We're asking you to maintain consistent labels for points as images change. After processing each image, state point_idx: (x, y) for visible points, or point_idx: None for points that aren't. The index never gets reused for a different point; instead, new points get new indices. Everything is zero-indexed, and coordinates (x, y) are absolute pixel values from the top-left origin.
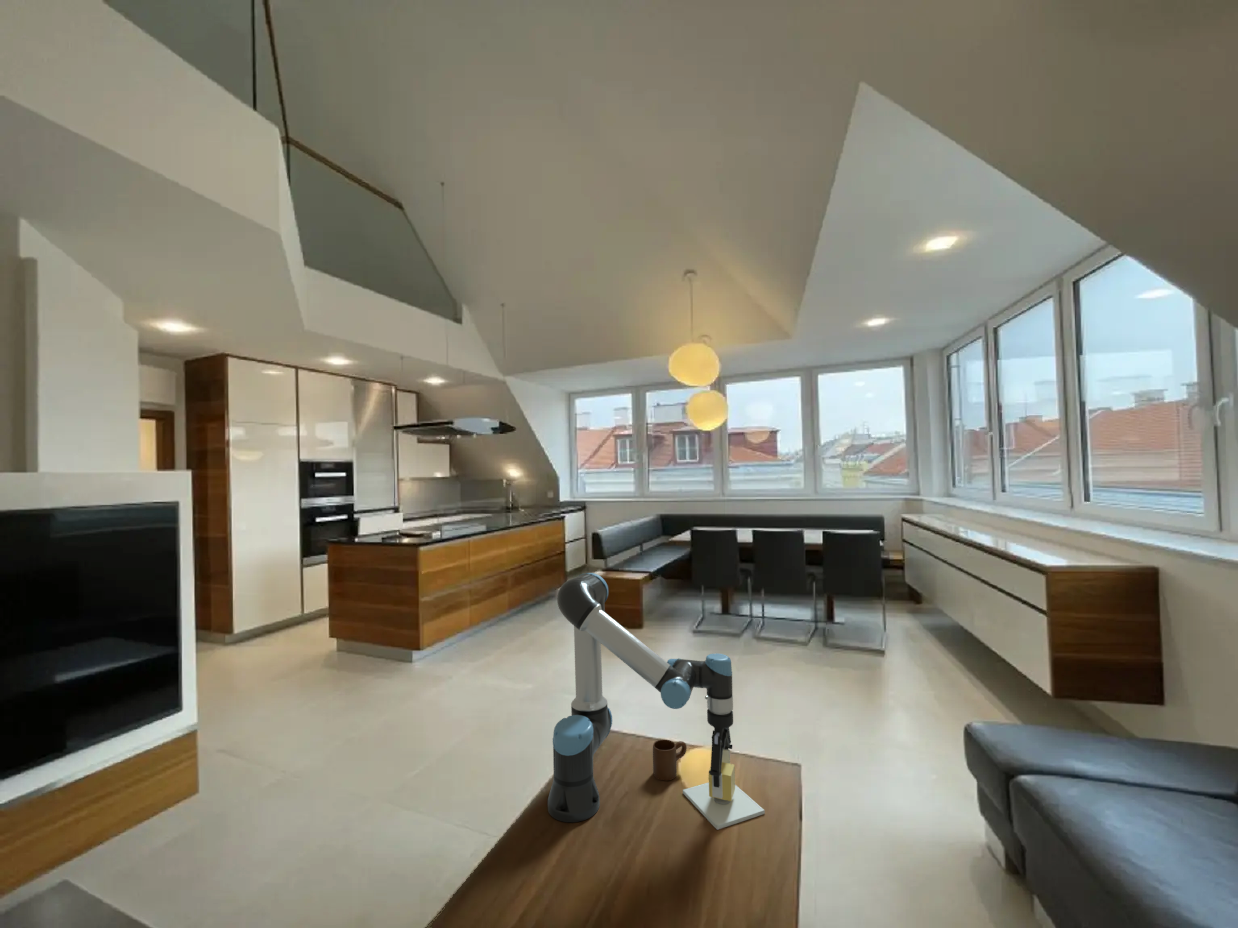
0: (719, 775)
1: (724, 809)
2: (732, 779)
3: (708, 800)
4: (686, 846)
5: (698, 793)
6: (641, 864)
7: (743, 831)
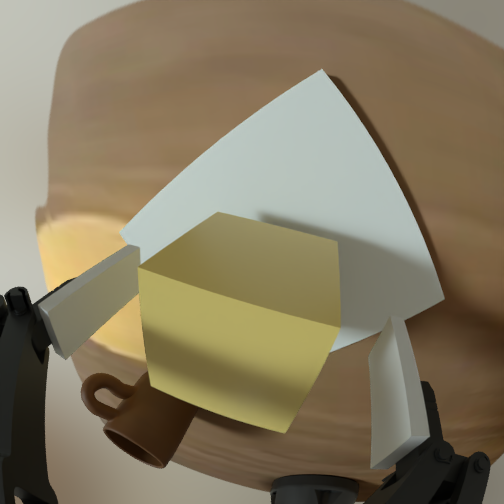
0: (483, 456)
1: (346, 262)
2: (275, 271)
3: None
4: (478, 365)
5: None
6: (484, 419)
7: (454, 191)
